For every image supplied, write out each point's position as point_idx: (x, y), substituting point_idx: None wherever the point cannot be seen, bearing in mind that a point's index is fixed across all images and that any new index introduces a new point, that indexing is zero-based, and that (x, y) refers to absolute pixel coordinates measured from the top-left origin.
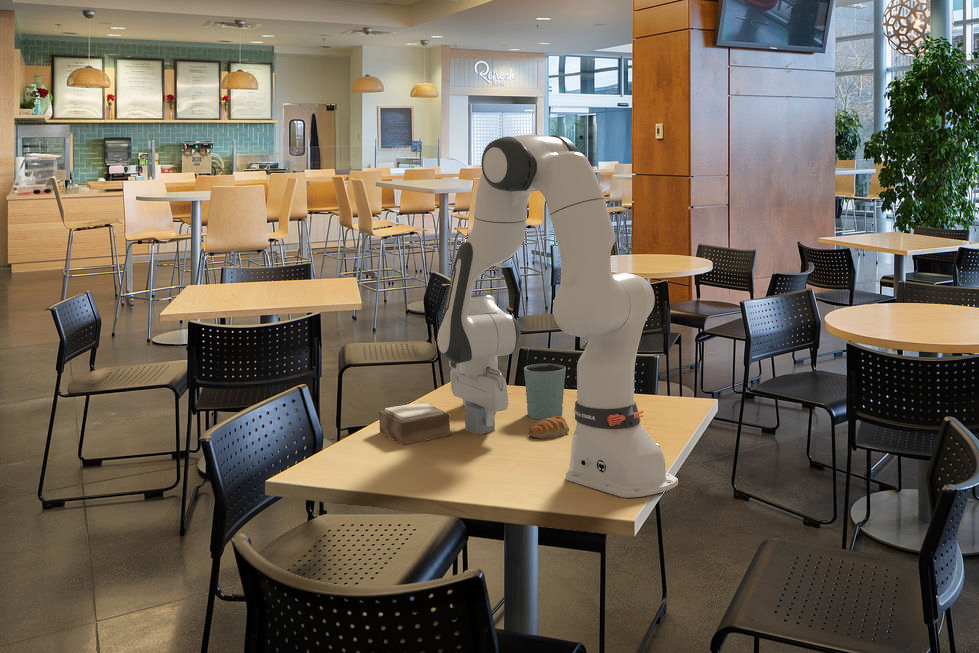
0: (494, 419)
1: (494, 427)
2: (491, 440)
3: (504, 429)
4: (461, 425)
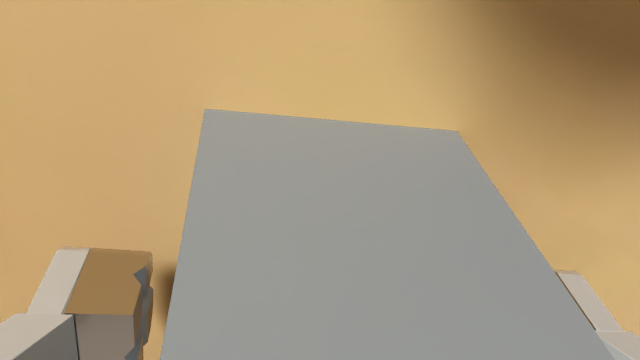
0: (508, 206)
1: (468, 151)
2: (631, 310)
3: (514, 13)
4: (35, 267)
